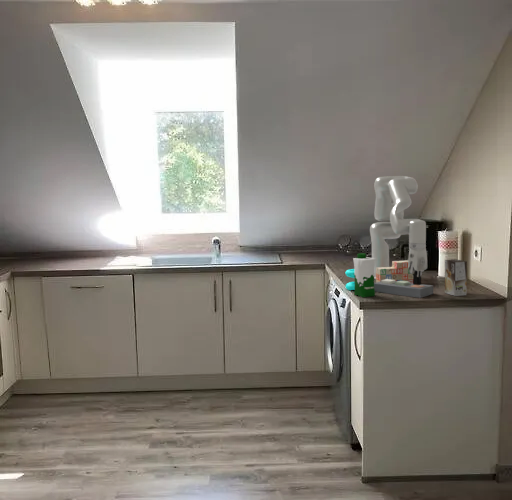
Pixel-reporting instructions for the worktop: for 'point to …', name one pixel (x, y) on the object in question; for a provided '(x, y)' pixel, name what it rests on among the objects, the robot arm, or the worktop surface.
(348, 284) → the donuts
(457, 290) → the coffee box
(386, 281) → the cream key
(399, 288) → the key panel
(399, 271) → the stack of blocks
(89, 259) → the worktop surface
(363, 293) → the milk carton
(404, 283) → the sage key
